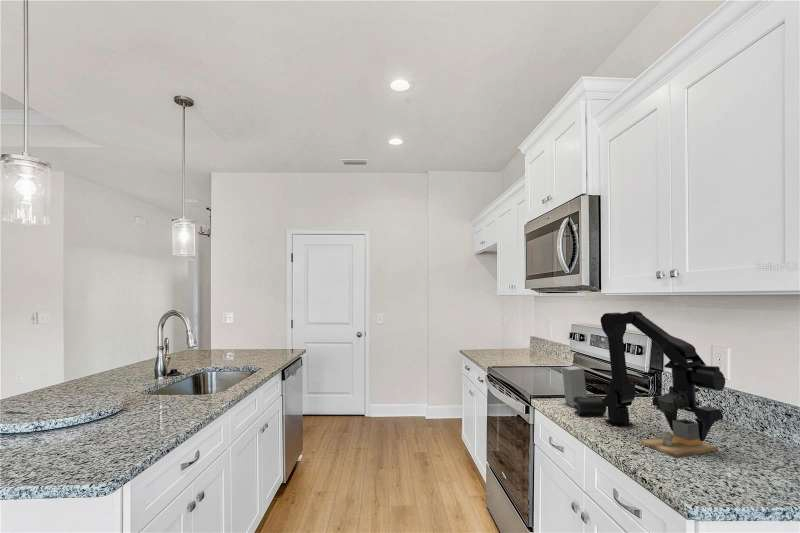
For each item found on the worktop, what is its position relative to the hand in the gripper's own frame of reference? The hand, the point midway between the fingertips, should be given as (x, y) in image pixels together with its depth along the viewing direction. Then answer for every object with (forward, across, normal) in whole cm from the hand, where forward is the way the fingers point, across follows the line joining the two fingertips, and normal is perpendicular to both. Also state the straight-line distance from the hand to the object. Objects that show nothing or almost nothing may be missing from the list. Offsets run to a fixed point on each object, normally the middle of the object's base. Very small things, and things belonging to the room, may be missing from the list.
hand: (687, 435), depth 125 cm
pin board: (+3, 0, -4) cm, 5 cm away
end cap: (+3, -36, -5) cm, 36 cm away
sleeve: (+2, 0, 0) cm, 2 cm away
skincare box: (+3, -49, -1) cm, 49 cm away
